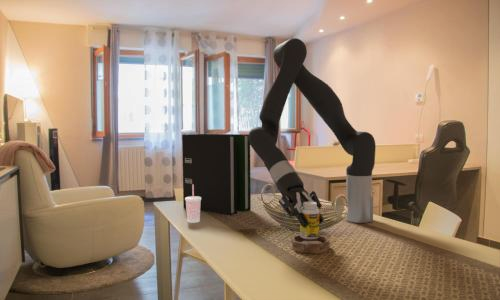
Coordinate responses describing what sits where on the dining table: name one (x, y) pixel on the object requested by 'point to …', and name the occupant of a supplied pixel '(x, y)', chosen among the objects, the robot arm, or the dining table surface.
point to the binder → (217, 171)
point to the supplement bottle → (310, 221)
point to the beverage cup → (193, 207)
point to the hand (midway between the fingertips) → (314, 224)
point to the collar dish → (310, 244)
